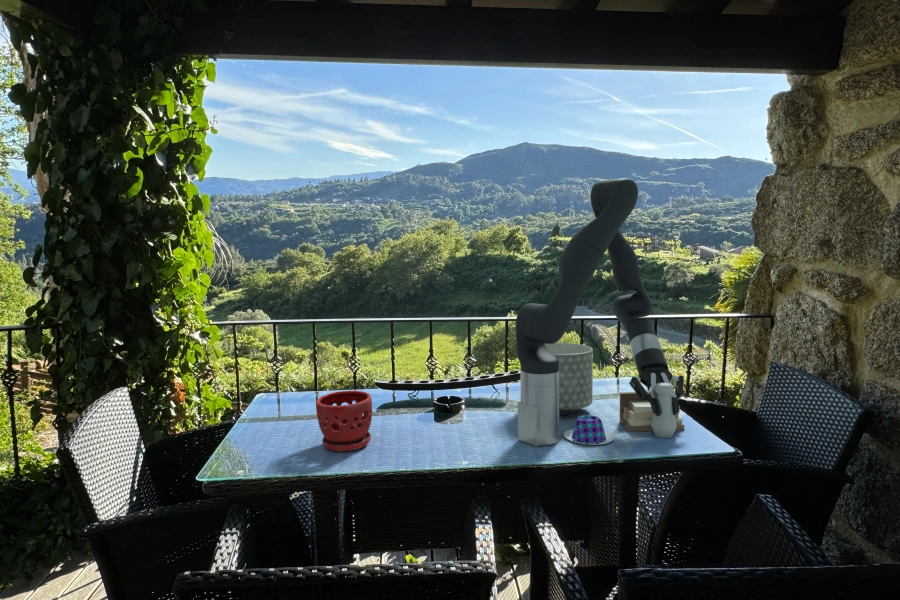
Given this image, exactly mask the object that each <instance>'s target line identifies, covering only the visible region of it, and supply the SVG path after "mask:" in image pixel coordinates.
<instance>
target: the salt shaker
mask: <svg viewBox="0 0 900 600" xmlns="http://www.w3.org/2000/svg"><path fill="white" fill-rule="evenodd" d="M673 385H674V384H672V383H671V384H669V383H657V384H656V385H655V392H656V393H658V394H657V399H658V402H659V405H660V408H661V411H662V412H661V414H660V416H656V414H653V419H652V423H651V427H652V429H653V431H652V432H654V433H653V434H654V435H655V437H658V438H662V439H671V438H672V437H673V435H674V434H675V432H676V431H677V430H676V421H675V415H673V407H672V398H671V394H673V392H675V388H674V387H675V386H673Z"/></svg>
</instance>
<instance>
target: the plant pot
mask: <svg viewBox="0 0 900 600" xmlns="http://www.w3.org/2000/svg"><path fill="white" fill-rule="evenodd" d="M353 402H355V403H353ZM344 403H346V404H345V405H343V404H344ZM315 407H316V408H315V409H316V418H317V421H318V422H317V423H318V426H319V428H320V432H321V434H322V435H323V437H322V444H323V446H324V447H326V448H327V449H329V450H331V451H334V452H348V451H349V452H350V451H357V450H358V449H361V448H363V447H364V446H365V447H366V445H367V444H369V442H370V441H371V439H372V434H371V432H369V430H370V427H371V424H372V418H373V400H372V395H371V394H370V393H369V392H367V391H366V392H365V391H362V390H342V391H334V392H330V393H327V394H325V395H324V394H323V395H322V396H320V397H318V398H317V399H316V401H315Z"/></svg>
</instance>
